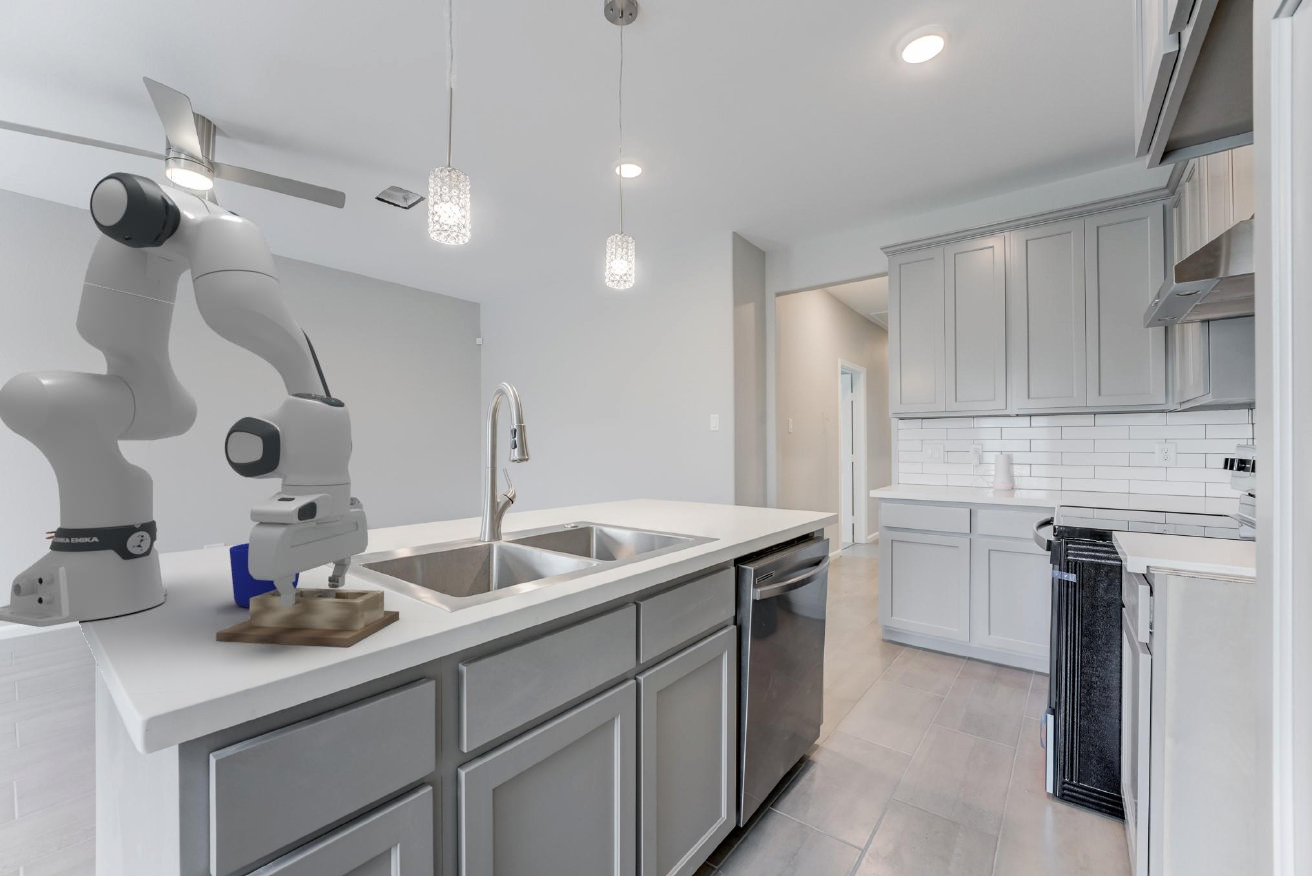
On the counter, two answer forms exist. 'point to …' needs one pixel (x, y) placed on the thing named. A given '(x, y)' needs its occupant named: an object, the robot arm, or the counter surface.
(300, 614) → the two-compartment stone tray
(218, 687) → the counter surface
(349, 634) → the board
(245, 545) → the mug
